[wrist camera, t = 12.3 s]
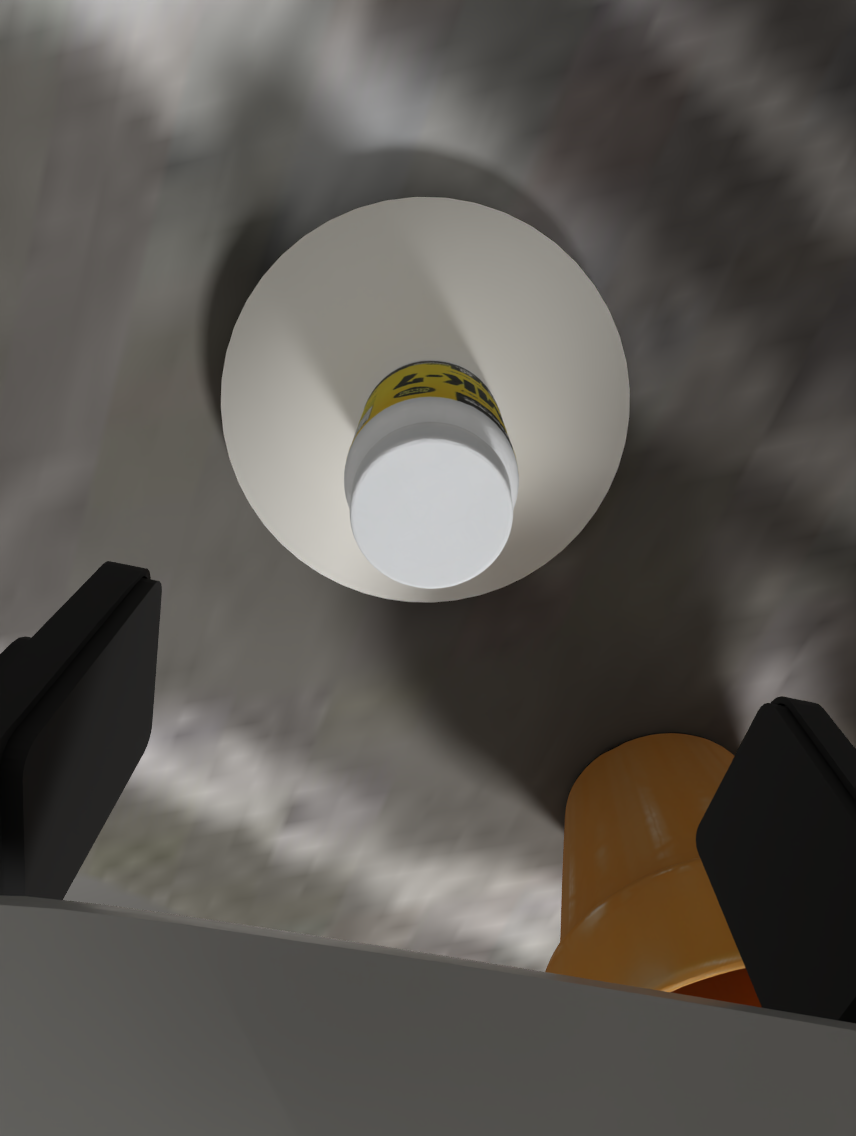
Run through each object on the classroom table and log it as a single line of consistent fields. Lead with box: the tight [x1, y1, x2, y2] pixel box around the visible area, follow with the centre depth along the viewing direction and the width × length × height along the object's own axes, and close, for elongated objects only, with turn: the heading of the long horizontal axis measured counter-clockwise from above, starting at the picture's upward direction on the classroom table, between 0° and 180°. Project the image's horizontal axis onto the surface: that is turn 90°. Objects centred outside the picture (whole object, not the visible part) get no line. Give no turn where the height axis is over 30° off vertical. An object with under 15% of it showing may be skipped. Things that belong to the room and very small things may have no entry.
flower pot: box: [546, 733, 762, 1008], centre depth 29 cm, size 14×14×13 cm
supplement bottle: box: [344, 360, 519, 589], centre depth 21 cm, size 5×5×8 cm
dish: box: [221, 197, 630, 602], centre depth 26 cm, size 14×14×2 cm
